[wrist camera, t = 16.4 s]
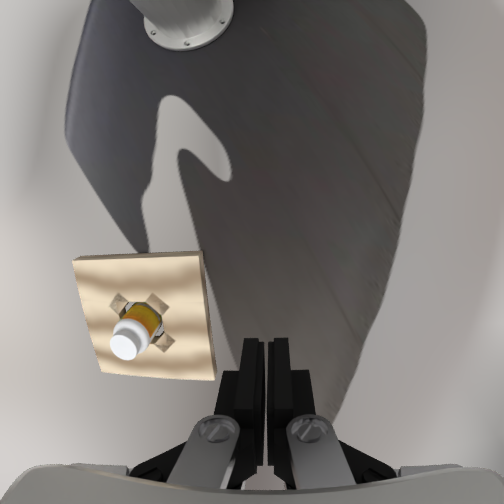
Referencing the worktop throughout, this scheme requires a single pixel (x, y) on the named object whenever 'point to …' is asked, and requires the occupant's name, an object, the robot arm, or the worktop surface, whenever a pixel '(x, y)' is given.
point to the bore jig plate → (160, 299)
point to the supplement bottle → (135, 331)
